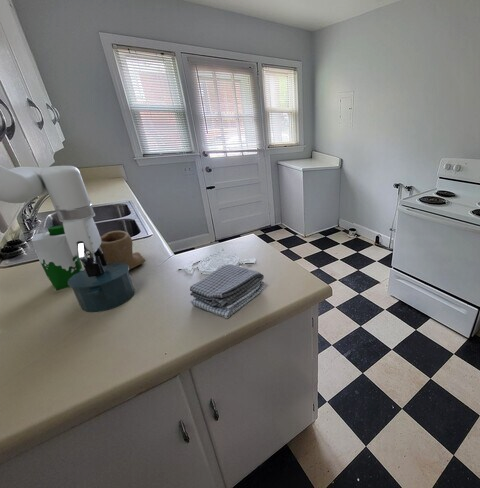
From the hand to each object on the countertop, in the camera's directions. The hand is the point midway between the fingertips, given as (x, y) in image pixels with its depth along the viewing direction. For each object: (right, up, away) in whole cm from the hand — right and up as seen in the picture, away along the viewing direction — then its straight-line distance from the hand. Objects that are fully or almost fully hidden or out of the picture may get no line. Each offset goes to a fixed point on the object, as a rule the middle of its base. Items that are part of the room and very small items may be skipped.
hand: (98, 270), depth 81 cm
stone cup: (-8, -2, +22) cm, 24 cm away
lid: (0, -2, +1) cm, 2 cm away
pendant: (+27, -1, +25) cm, 36 cm away
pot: (0, -9, +4) cm, 10 cm away
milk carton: (-21, -6, +13) cm, 25 cm away
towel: (+38, -9, +5) cm, 39 cm away
